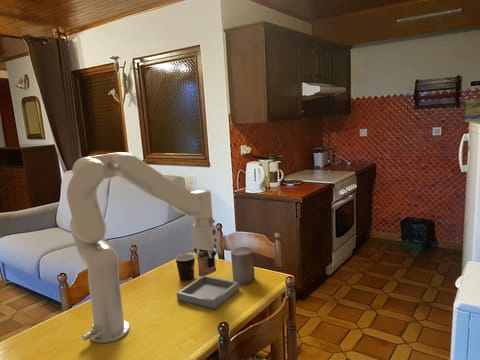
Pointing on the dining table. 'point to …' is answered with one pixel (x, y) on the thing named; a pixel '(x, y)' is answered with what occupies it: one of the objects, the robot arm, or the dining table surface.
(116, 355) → the dining table surface
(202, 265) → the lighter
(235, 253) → the pillar candle
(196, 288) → the tray
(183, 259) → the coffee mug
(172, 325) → the dining table surface
